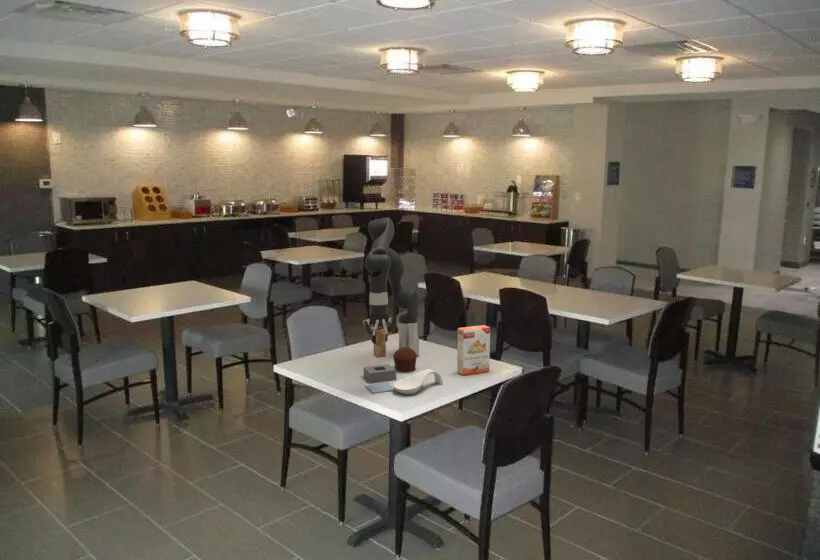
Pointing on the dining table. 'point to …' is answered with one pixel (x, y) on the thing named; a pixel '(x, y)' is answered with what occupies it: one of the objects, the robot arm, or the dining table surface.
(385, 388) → the rubber mat
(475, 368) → the cracker box
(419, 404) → the dining table surface
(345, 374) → the dining table surface
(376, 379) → the block
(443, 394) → the dining table surface
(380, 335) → the walnut plug
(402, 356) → the muffin
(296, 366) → the dining table surface
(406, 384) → the spoon rest
